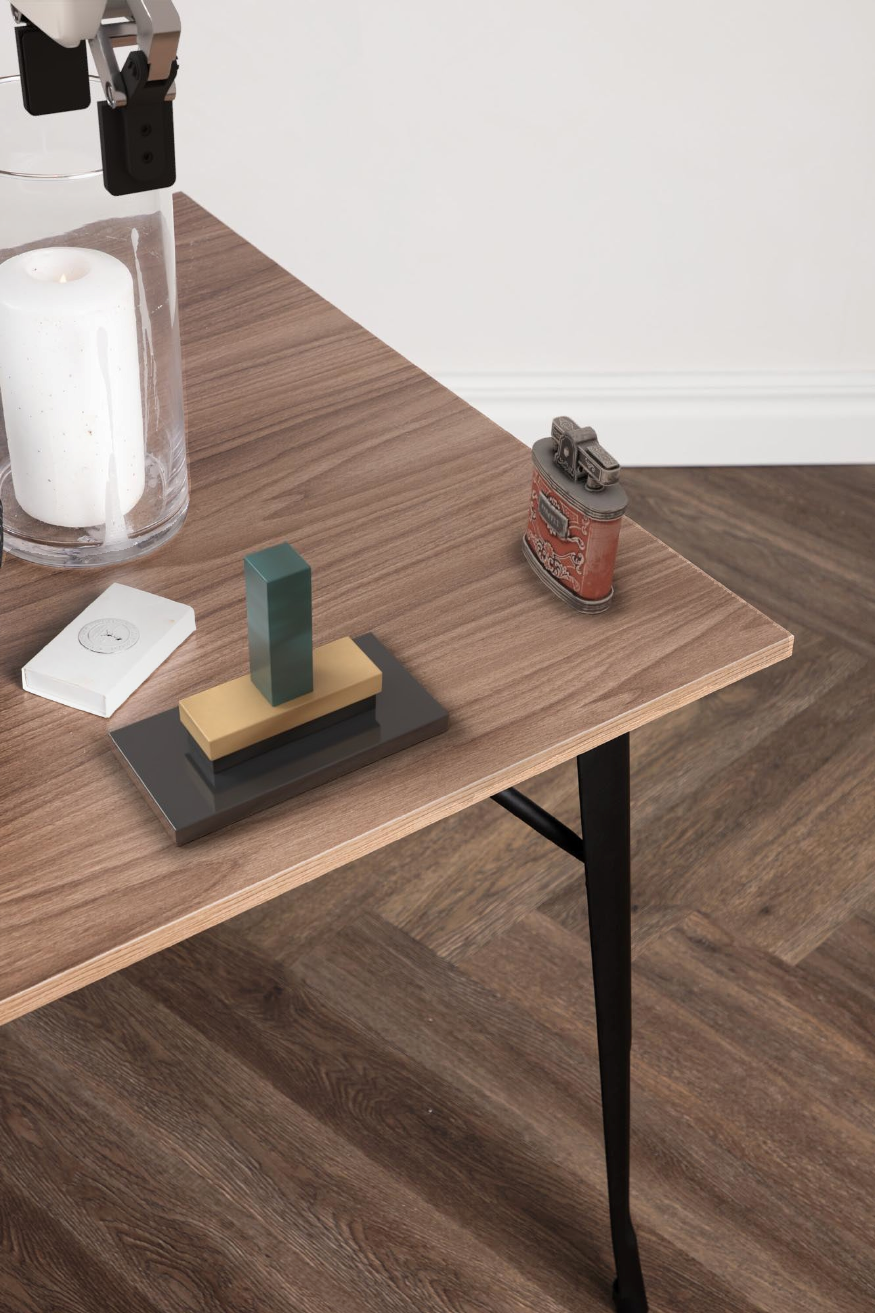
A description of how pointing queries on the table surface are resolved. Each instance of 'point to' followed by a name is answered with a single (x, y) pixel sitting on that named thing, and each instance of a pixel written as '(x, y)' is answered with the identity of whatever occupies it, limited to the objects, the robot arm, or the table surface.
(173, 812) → the board
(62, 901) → the table surface
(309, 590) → the rubber stamp
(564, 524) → the lighter
